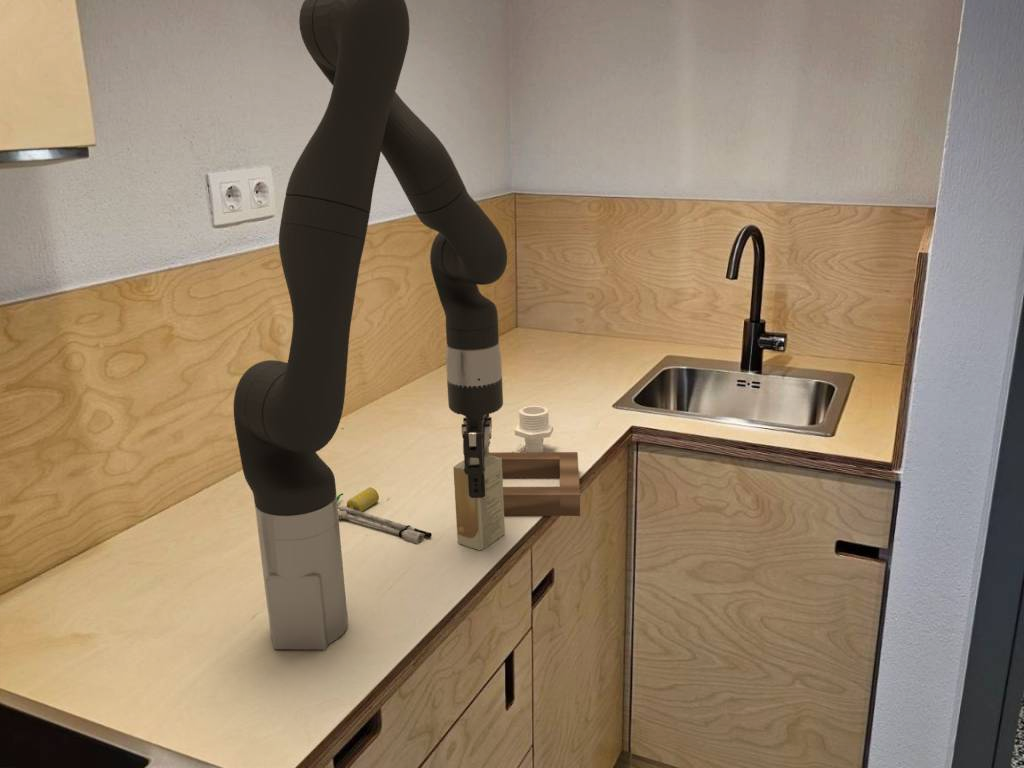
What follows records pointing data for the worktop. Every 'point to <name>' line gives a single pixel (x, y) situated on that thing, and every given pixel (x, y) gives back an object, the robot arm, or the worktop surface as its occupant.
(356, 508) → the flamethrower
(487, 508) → the skincare box
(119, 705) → the worktop surface
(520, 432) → the pipe fitting
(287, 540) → the robot arm
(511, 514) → the brown square open frame
